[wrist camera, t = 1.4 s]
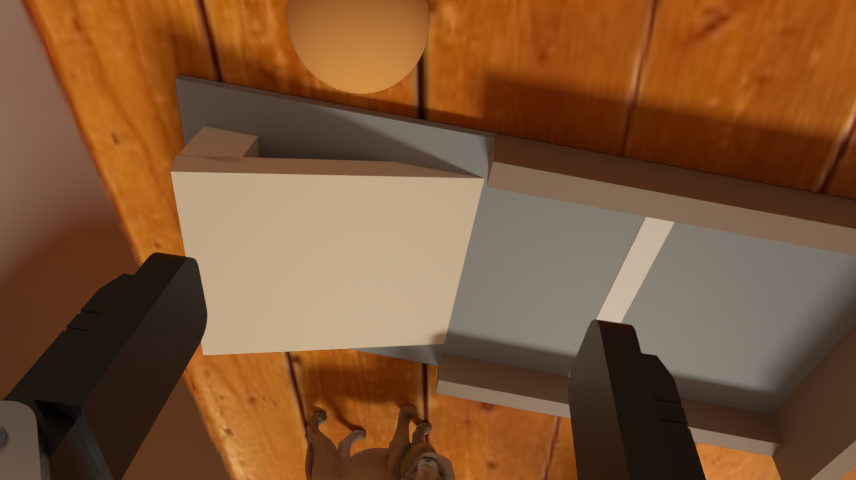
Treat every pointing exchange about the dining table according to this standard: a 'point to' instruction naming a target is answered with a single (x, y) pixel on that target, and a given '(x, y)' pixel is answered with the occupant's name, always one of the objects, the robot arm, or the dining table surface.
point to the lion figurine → (375, 455)
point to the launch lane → (521, 264)
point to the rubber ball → (358, 40)
